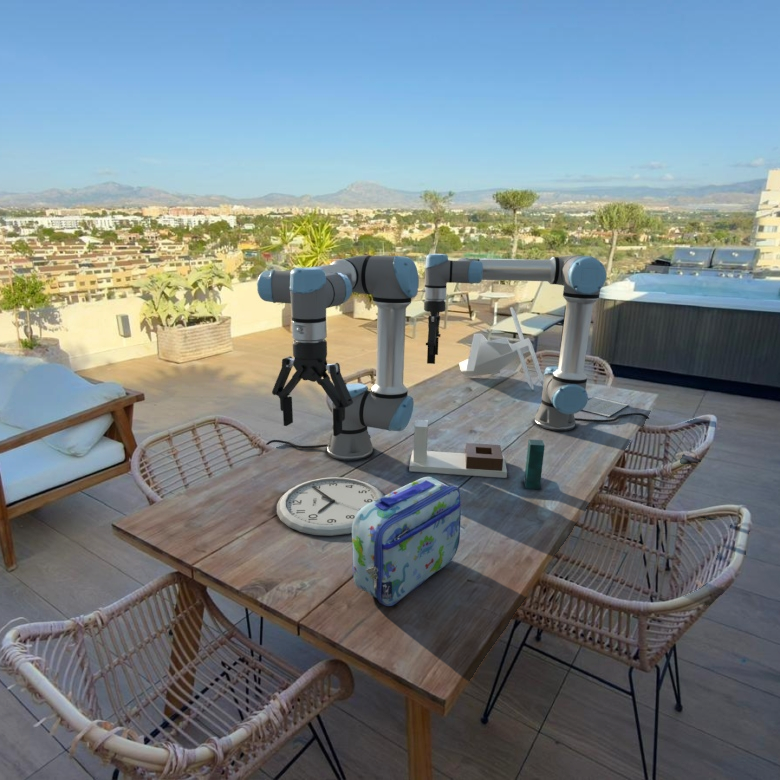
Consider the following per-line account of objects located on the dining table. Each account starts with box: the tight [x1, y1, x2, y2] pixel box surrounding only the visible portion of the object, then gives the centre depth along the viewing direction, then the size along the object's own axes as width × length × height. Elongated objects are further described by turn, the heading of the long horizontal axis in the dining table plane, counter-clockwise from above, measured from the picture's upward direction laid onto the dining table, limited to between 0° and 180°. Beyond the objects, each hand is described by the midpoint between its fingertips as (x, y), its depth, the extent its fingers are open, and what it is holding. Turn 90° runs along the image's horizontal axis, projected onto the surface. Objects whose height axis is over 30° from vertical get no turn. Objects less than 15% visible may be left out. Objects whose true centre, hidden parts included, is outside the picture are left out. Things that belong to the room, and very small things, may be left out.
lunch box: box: [351, 476, 462, 607], centre depth 111 cm, size 26×11×21 cm, turn 135°
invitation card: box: [581, 396, 629, 418], centre depth 226 cm, size 21×1×15 cm
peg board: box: [408, 419, 508, 479], centre depth 165 cm, size 30×12×14 cm, turn 83°
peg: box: [523, 439, 546, 490], centre depth 154 cm, size 4×4×14 cm
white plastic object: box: [458, 306, 544, 391], centre depth 259 cm, size 37×45×31 cm
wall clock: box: [276, 476, 385, 537], centre depth 142 cm, size 30×2×30 cm
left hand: (312, 429), depth 122 cm, fingers open, 13 cm apart
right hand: (432, 358), depth 189 cm, fingers open, 13 cm apart
